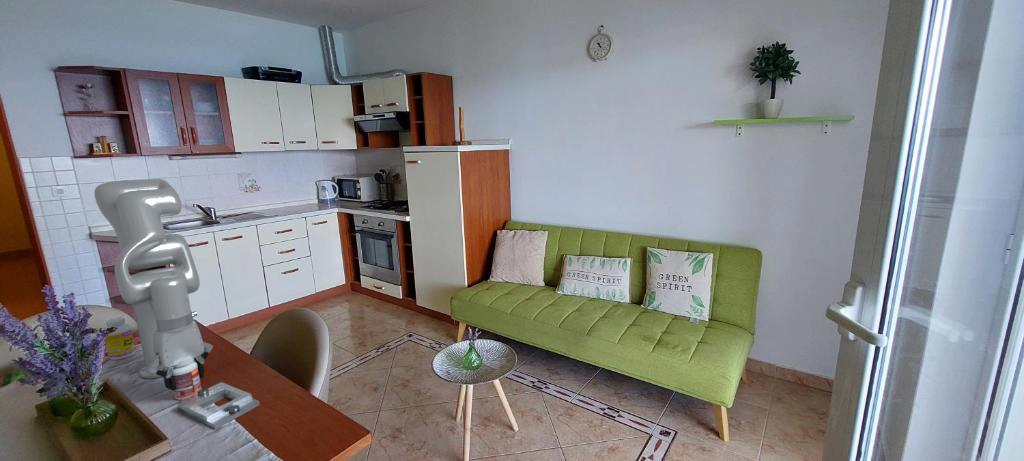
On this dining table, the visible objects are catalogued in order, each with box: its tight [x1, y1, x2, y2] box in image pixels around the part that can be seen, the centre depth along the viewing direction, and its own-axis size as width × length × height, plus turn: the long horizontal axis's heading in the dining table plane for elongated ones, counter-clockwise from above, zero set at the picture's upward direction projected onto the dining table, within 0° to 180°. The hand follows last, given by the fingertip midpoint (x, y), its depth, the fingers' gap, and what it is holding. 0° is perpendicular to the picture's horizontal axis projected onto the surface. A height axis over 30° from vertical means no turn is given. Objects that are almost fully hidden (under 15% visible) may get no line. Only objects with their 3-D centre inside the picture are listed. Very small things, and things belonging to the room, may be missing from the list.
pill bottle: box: [172, 357, 202, 401], centre depth 118 cm, size 6×6×11 cm
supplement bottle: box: [105, 316, 136, 361], centre depth 142 cm, size 7×7×13 cm
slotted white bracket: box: [176, 381, 260, 430], centre depth 112 cm, size 17×11×3 cm, turn 62°
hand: (186, 382), depth 118 cm, fingers closed on pill bottle, 6 cm apart
